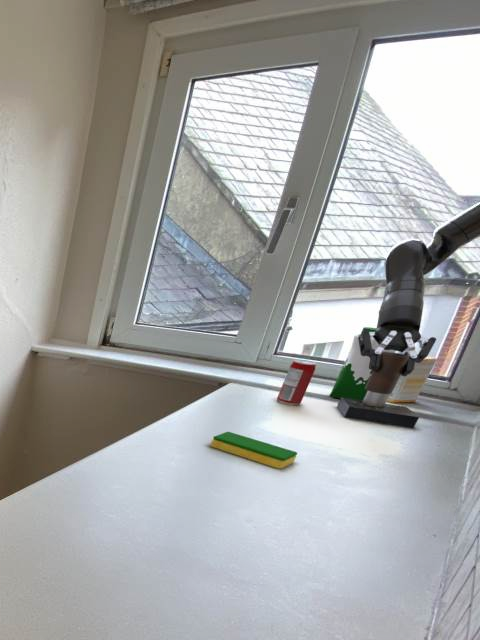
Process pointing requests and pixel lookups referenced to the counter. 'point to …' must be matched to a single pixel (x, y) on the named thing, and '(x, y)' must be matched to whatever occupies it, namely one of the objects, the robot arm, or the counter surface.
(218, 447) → the dish sponge
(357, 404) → the panel
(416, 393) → the supplement box
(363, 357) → the milk carton
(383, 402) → the hob knob
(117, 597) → the counter surface
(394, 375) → the dark brown cylinder
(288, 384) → the soda can
